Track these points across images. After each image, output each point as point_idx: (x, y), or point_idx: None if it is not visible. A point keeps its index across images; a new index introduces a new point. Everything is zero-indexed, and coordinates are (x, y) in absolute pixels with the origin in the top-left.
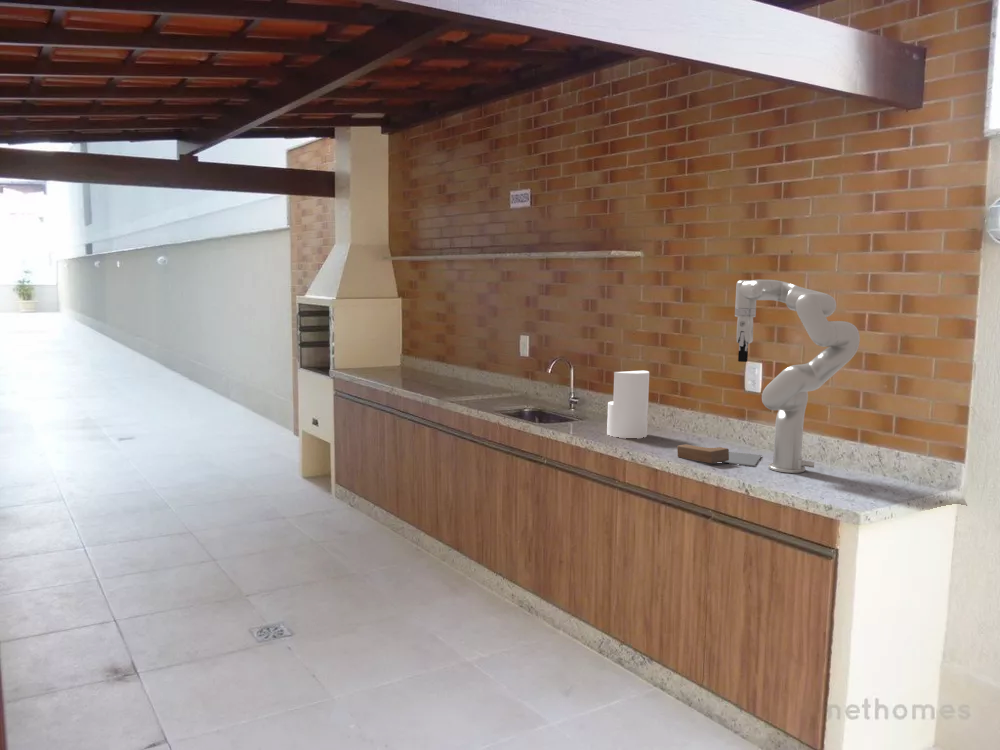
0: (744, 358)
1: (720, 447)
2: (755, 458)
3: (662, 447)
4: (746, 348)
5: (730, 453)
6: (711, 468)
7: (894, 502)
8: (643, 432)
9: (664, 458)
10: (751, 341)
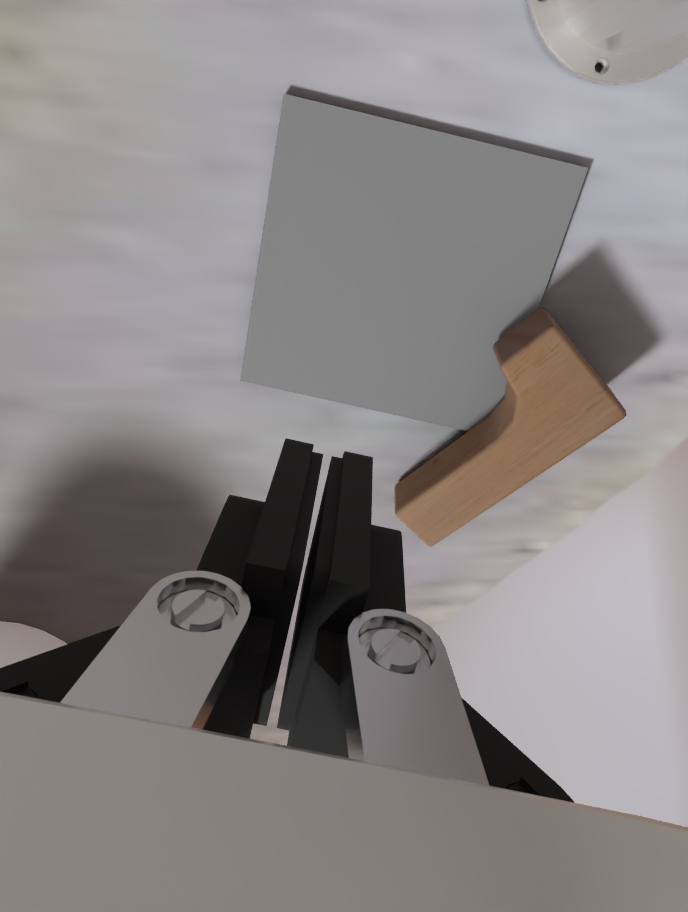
0: (398, 534)
1: (515, 366)
2: (398, 144)
3: None
4: (433, 686)
5: (299, 279)
6: (648, 387)
7: None
8: (36, 649)
9: (468, 563)
10: (287, 791)
